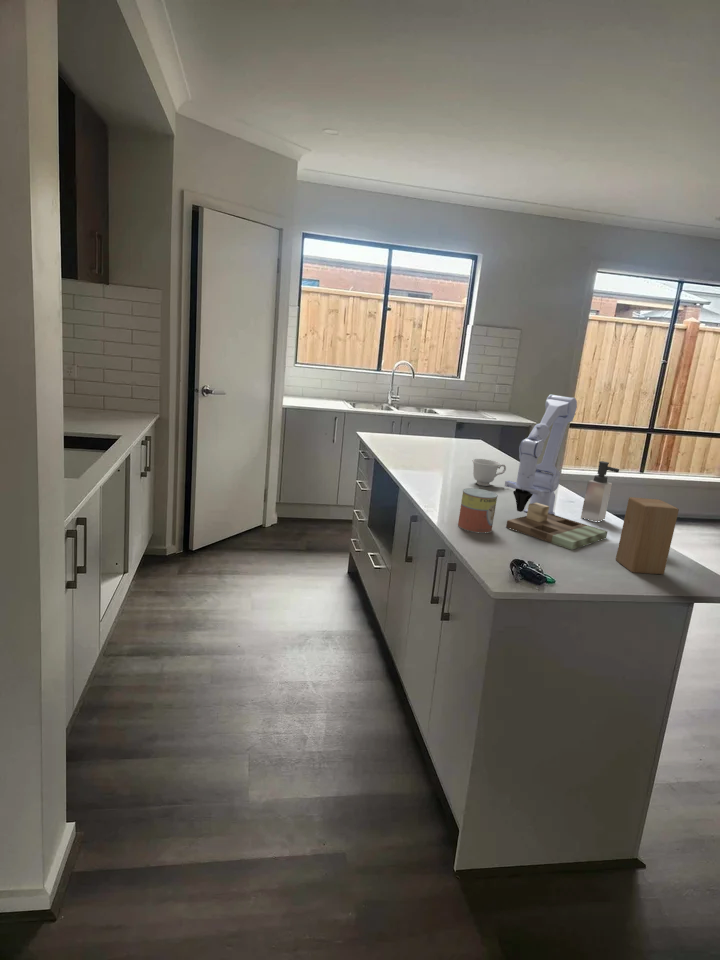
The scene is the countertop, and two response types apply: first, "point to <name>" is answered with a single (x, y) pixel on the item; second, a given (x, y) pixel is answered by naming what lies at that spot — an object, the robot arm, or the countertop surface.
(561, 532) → the trap board
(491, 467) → the teacup
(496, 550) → the countertop surface
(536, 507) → the maple cube
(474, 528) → the canned food
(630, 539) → the wooden block
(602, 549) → the countertop surface
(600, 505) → the soap dispenser
